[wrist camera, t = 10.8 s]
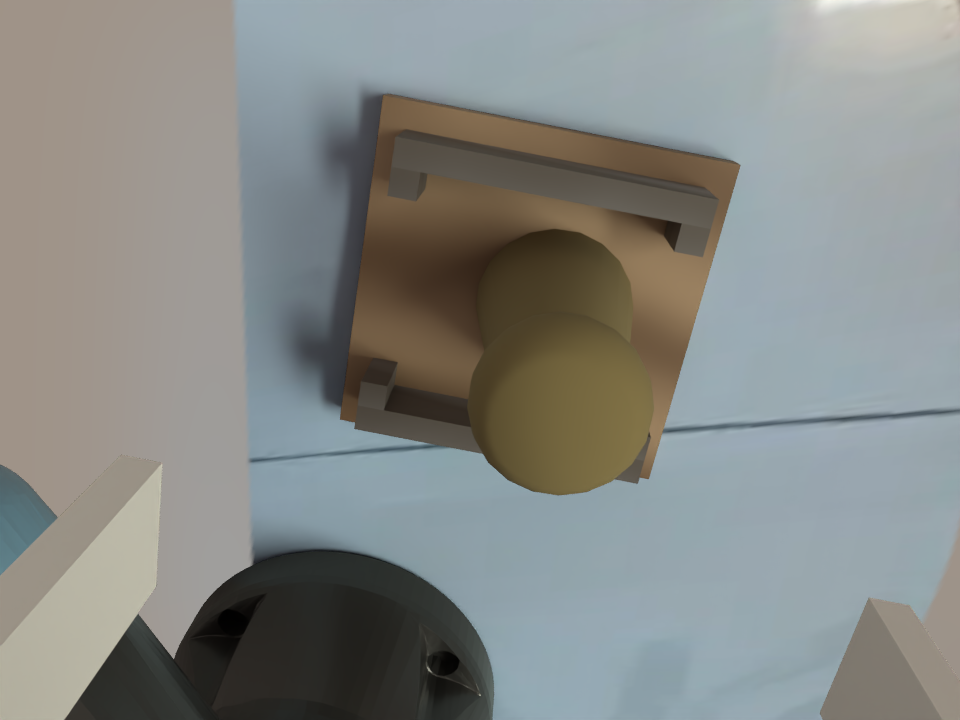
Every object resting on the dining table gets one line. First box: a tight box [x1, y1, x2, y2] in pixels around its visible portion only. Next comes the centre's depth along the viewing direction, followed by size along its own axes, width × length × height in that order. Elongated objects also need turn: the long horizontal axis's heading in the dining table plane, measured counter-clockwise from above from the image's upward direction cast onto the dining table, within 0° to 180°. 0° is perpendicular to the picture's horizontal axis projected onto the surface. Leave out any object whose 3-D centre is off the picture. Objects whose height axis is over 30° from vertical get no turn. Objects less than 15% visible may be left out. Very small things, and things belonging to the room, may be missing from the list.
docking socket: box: [340, 94, 740, 484], centre depth 32 cm, size 13×13×4 cm
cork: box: [467, 229, 654, 495], centre depth 27 cm, size 6×6×11 cm
